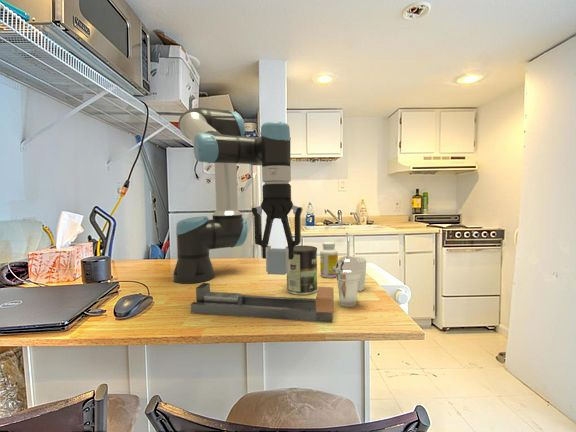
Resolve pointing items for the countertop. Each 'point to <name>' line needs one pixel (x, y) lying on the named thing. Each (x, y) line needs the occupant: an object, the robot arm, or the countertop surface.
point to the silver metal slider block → (216, 296)
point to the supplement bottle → (328, 260)
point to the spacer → (276, 261)
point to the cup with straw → (347, 278)
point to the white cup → (362, 275)
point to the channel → (276, 307)
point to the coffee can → (303, 271)
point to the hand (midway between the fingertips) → (278, 270)
